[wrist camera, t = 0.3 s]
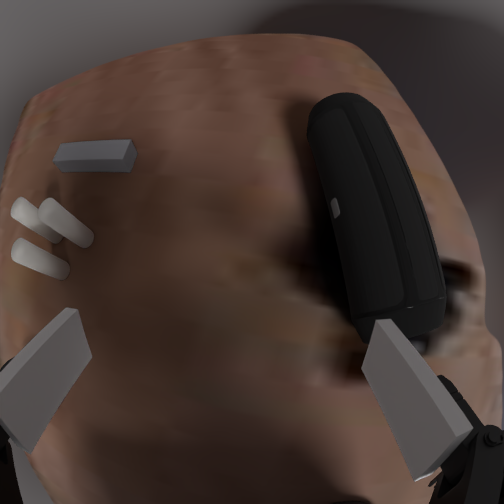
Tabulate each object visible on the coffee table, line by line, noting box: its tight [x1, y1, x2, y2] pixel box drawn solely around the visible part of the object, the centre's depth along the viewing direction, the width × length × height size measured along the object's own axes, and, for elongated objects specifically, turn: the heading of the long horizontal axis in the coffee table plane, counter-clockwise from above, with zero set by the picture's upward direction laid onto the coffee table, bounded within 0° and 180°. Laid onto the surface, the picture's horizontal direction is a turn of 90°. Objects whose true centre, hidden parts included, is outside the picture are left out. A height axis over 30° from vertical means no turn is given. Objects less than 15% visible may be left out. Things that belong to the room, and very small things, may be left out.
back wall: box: [53, 139, 138, 173], centre depth 29 cm, size 3×12×3 cm, turn 84°
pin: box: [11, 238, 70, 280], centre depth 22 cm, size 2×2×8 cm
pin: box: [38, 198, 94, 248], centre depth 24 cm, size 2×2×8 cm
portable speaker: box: [307, 92, 447, 344], centre depth 25 cm, size 26×10×10 cm, turn 8°
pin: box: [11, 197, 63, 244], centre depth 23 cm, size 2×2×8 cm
